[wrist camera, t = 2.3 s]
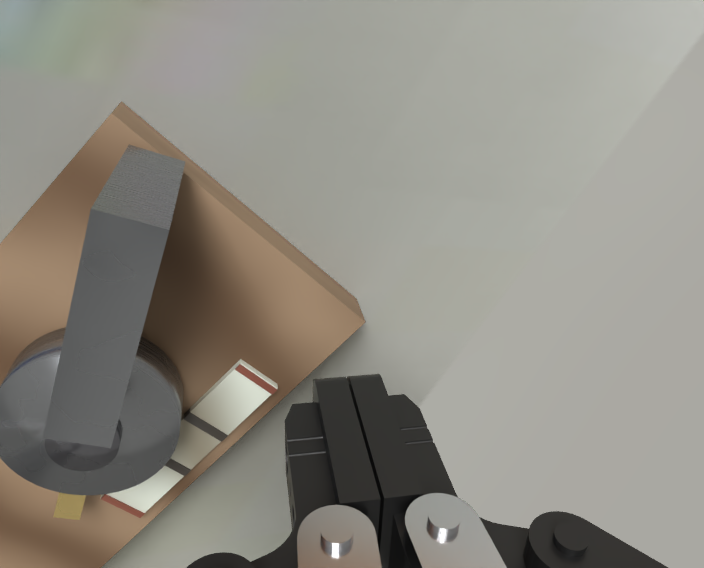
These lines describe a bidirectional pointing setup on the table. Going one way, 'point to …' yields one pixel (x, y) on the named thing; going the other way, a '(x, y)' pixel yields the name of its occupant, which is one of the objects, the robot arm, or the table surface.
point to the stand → (164, 334)
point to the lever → (102, 354)
